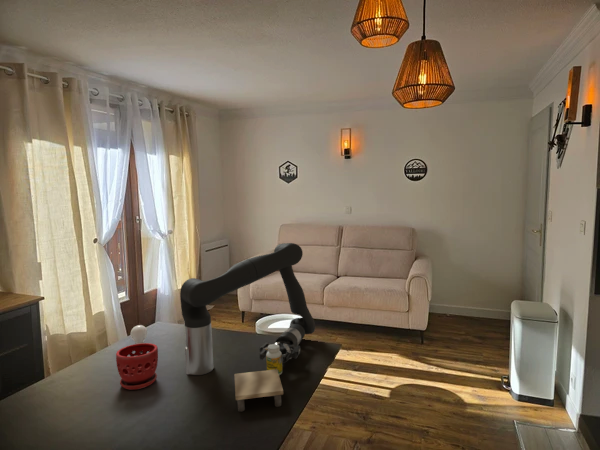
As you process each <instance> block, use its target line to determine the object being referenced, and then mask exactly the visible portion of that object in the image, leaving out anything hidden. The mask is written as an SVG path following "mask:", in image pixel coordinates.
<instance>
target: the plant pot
mask: <svg viewBox="0 0 600 450" xmlns="http://www.w3.org/2000/svg"><path fill="white" fill-rule="evenodd" d="M140 351H142V352H140ZM115 361H116V368H117V372H118V375H119V377H120V381H119V383H120V386H121V387H123V389H126V390H131V391H132V390H136V391H137V390H140V389H143V388H146V387H147V388H148V387H149V386H151V385H152V384H153V383H154V382H155V381H156V380H157V376H158V375H157V373H156V371H157V367H158V361H159V349H158V346H157V344H154V343H150V342H148V343H147V342H146V343H145V342H144V343H140V344H129V345H127V346H125V347H122V348H120V349H118V350H117V351H116V353H115Z"/></svg>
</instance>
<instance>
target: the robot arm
mask: <svg viewBox="0 0 600 450" xmlns="http://www.w3.org/2000/svg"><path fill="white" fill-rule="evenodd" d="M303 254H304V253H303V248H302V247H301V246H300V245H298V243H293V242H287V243H284V242H283V243H279V244H278V245H276V246H275V248H274V250H273V252H272V253H271V252H270V253H268V254H267V253H266V254H262V255H258V256H253V257H250V258H246V259H243V260H241V261H239V262H236V263H234V264H233V265H232V266H230V268H228V269H227V270H226V271H225V272H224V273H223V274H221V275H219V276H217V277H214V278H211V279H207V280H201V279H199V278H195V277H192V278H188V279H186V280H185V281H184V282H183V283H182V285H181V287H180V292H179V294H180V295H179V298H180V307H181V308H180V310H181V315H182V319H183V322H184V334H185V335H184V336H185V351H184V352H185V353H184V354H185V367H186V368H185V369H186V370H185V371H186V375H191V376H202V375H206V374H209V373H211V372H212V371H213V369H214V355H213V352H214V351H213V335H212V334H213V332H212V318H211V317H212V316H211V314H210V311H208V307H207V306H208V305H210V304H212V303H214V302H215V301H217V300H219V299H220V298H222V297H223V296H225V295H228V294H229V293H231V292H234V291H237V290H239V289H241V288H243V287H246V286H248V285H250V284H253V283H255V282H257V281H259V280H261V279H263V278H265V277H267V276H269V275H271V274H273V273H275V272H277V271H279V274H280V276H281V278H282V282H283V284H284V287H285V291H286V293H287V299H288V303H289V309H290V311H291V313H292V314H294V315H298V316H301V317H295V318H293V319H292V320H291V321H290V323H289V324H290V325H289V326H288V328H287V329H286V330H284V331H283V332H282V333H281V334H280V335H279V336H278V337H277V338H276V340H275V342H273V343H272V344H277V345H279V348H280V350H279V351H281V353H282V363H284V364H285V363H286V362H288V361H289V360H292V358H293V359H294V360H296V359H297V358H298V356H299V355H300V354H301V345H299V344H300V343H301V342H302V340H303V339H304V338H305V335H312V334H313V333H314V332H315V330H316V323H315V320H314V318H313V316H312V314H311V312H310V310H309V308H308V305H307V302H306V301H307V300H306V297H305V292H304V289H303V287H302V286H301V284H300V282H299V280H298V279H297V277H296V275H295V273H294V269H293V266H295V265H297V264H299V262H300V261H301V260H302V258H303ZM272 344H271V343H270V341H266V342H264V343H263V344H262V345H261V346H259V359H260V360H264V359H266V354H267V352H268V346H269V345H272Z"/></svg>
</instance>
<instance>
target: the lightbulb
mask: <svg viewBox="0 0 600 450" xmlns="http://www.w3.org/2000/svg"><path fill="white" fill-rule="evenodd" d="M147 336H148V329H147V327H146V326H144V325H142V324H138V325H135V326H133V328H131V331H130V338H131V339H132V340H133V341H134V343H135V344H140V343H145V340H146V338H147ZM140 353H143V351H140Z"/></svg>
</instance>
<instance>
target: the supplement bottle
mask: <svg viewBox="0 0 600 450" xmlns="http://www.w3.org/2000/svg"><path fill="white" fill-rule="evenodd" d="M279 350H280V348H279V345H277V344H273V343H272V345H269V346H268V350H267V354H266V357H265V359H266V361H265V362H266V370H274V369H277V371H278V374H279V376H280V375H282V374H283V354H282V353H281V351H279Z"/></svg>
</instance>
